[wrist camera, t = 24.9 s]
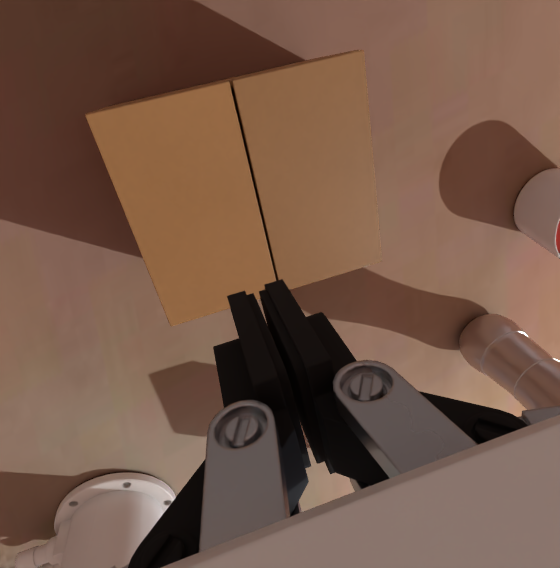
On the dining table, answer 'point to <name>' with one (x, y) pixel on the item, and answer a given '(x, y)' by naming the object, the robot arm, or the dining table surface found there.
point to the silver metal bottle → (512, 360)
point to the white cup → (541, 210)
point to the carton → (309, 164)
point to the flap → (187, 197)
